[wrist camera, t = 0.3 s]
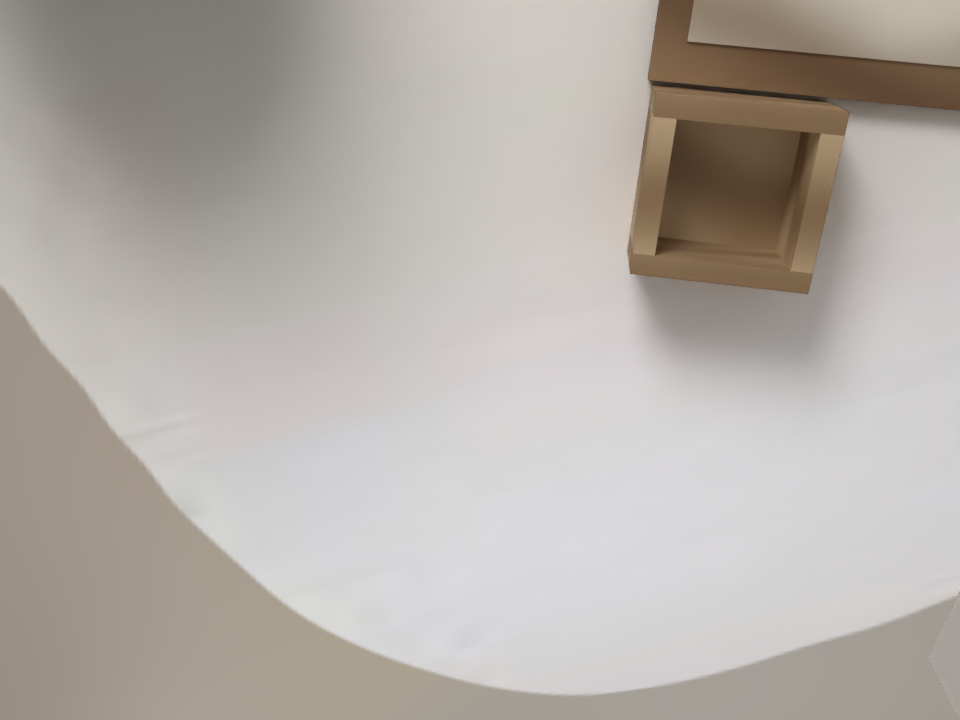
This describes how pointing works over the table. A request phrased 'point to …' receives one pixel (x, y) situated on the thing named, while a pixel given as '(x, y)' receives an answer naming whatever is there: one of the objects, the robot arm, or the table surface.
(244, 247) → the table surface
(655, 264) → the holder
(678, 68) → the clipboard
